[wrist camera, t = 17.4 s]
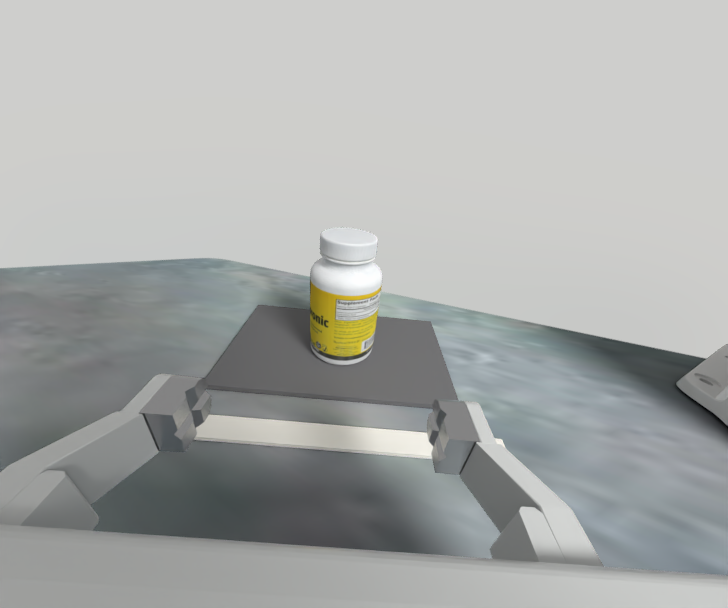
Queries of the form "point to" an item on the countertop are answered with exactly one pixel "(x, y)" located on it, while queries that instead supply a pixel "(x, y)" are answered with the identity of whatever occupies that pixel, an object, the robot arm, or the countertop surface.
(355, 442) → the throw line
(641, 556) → the countertop surface
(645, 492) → the countertop surface
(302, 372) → the mat
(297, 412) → the countertop surface
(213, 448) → the countertop surface
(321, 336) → the supplement bottle
